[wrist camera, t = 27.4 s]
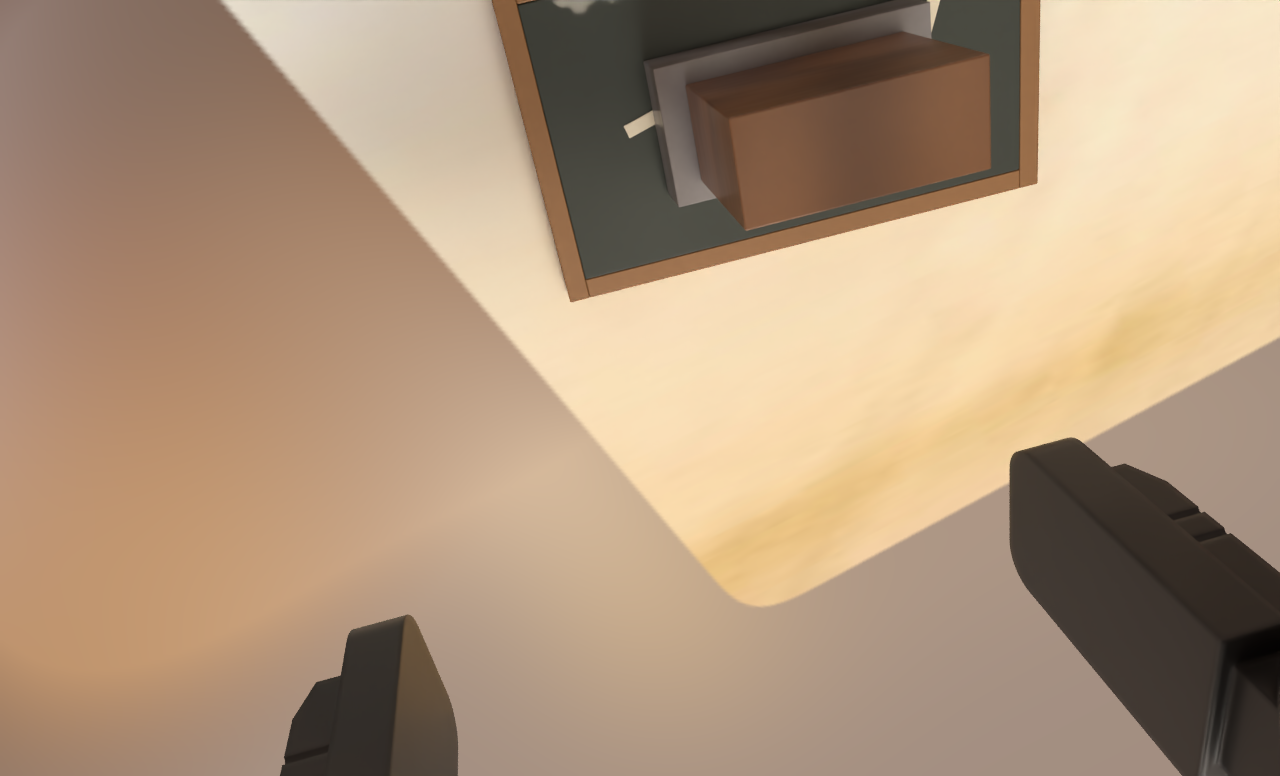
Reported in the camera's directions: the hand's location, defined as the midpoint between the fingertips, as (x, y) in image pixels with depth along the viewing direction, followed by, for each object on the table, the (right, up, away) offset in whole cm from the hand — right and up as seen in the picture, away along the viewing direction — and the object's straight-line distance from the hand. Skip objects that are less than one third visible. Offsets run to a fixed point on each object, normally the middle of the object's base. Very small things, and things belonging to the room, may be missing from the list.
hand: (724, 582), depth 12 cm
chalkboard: (+4, +14, +23) cm, 28 cm away
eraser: (+4, +14, +22) cm, 26 cm away
